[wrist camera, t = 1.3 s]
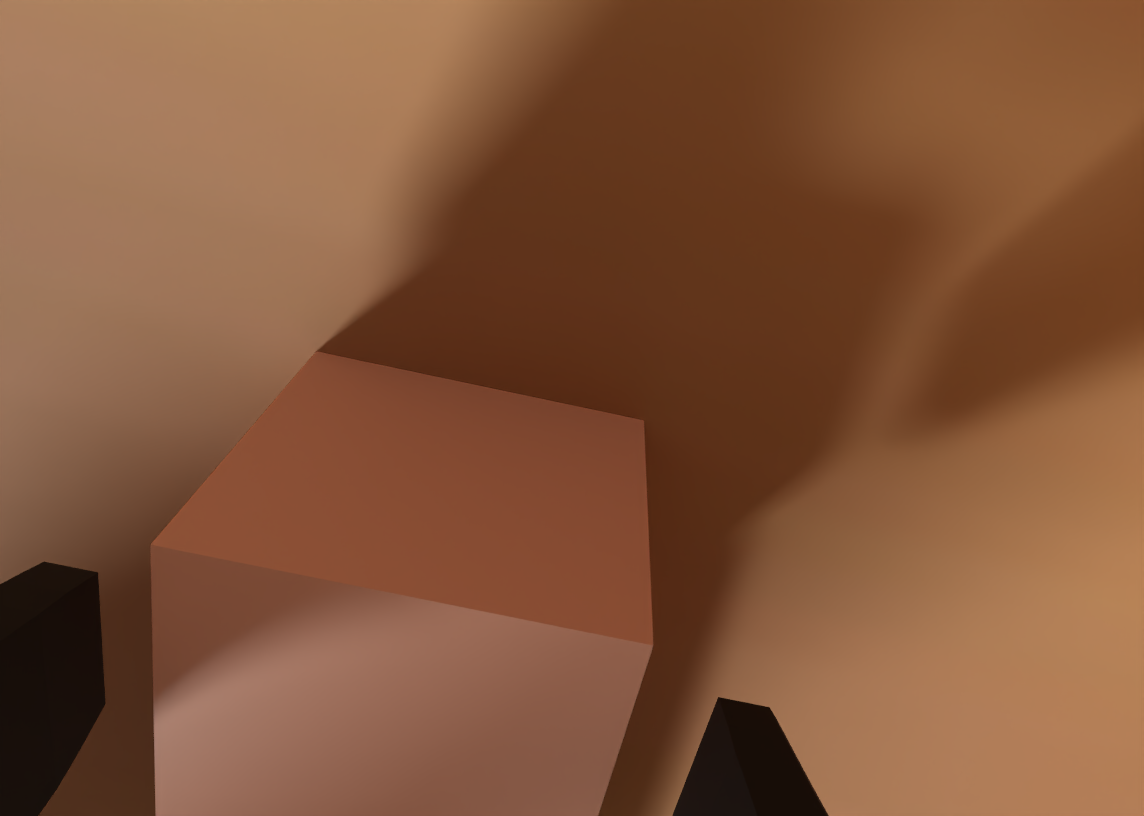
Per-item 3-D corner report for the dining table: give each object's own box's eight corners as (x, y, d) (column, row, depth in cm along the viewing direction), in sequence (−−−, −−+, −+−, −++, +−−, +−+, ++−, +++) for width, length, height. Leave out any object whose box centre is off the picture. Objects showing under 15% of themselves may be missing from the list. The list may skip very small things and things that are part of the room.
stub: (583, 637, 15) (565, 918, 10) (299, 580, 15) (155, 842, 10) (644, 418, 13) (653, 647, 8) (317, 349, 13) (149, 545, 8)
